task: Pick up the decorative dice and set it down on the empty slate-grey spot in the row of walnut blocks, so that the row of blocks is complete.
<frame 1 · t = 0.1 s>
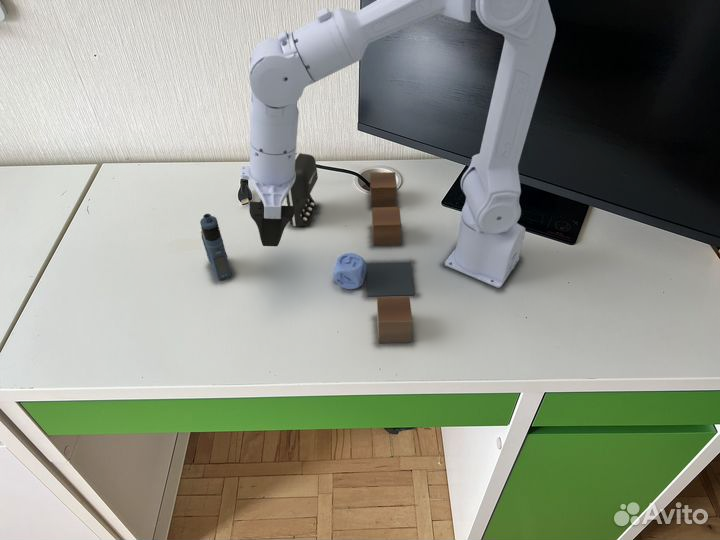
hand: (270, 226, 75), 10 cm above the table, tool pointing down, fingers open, 7 cm apart
block near: (393, 330, 75), on the table
decorative dice: (350, 281, 82), on the table
block far: (382, 200, 96), on the table
vaping device: (221, 270, 84), on the table
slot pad: (389, 279, 82), on the table
battery charger: (306, 217, 94), on the table
block mid: (385, 236, 89), on the table
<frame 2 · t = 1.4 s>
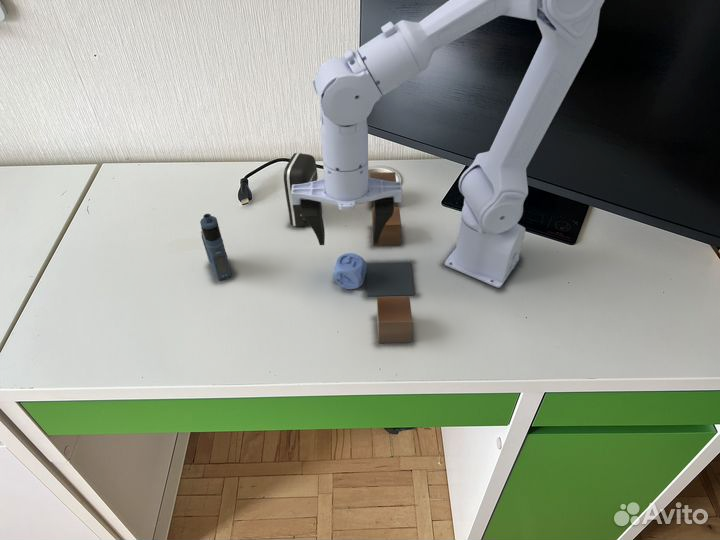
hand: (348, 239, 76), 8 cm above the table, tool pointing down, fingers open, 7 cm apart
nothing on the table moved.
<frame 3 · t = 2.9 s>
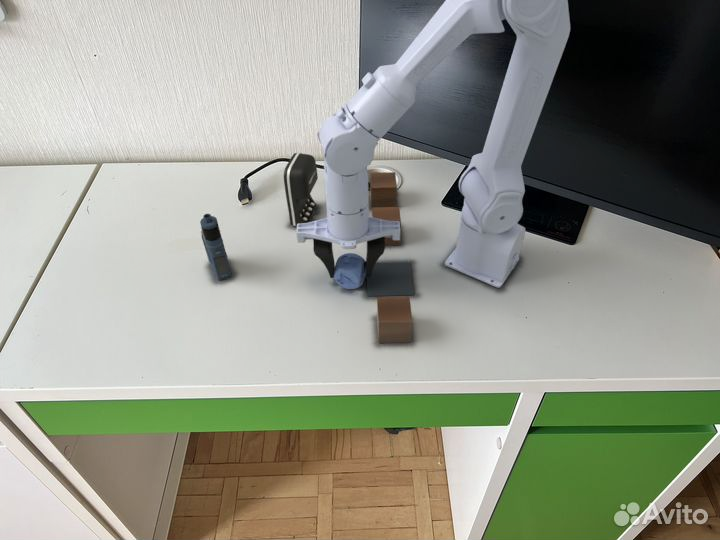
hand: (350, 273, 81), 2 cm above the table, tool pointing down, fingers closed on decorative dice, 5 cm apart
decorative dice: (350, 281, 82), on the table, touching gripper
everything else where it was.
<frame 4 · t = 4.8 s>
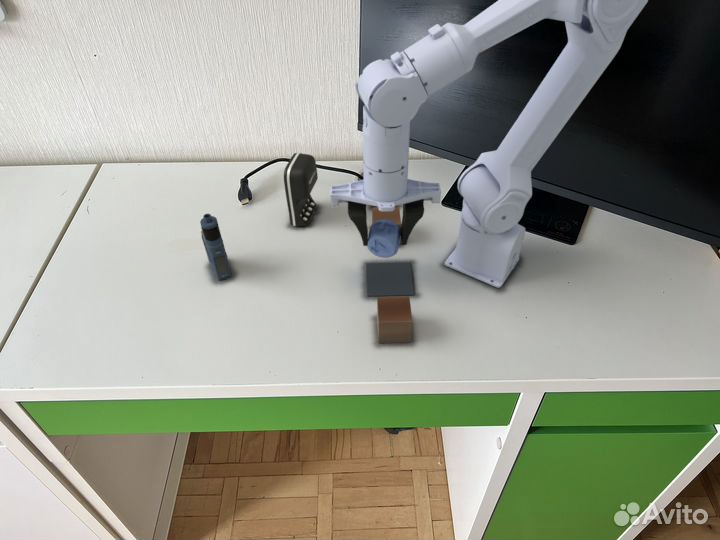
hand: (384, 240, 77), 8 cm above the table, tool pointing down, fingers closed on decorative dice, 5 cm apart
decorative dice: (384, 249, 78), point 6 cm above the table, touching gripper
everything else where it was.
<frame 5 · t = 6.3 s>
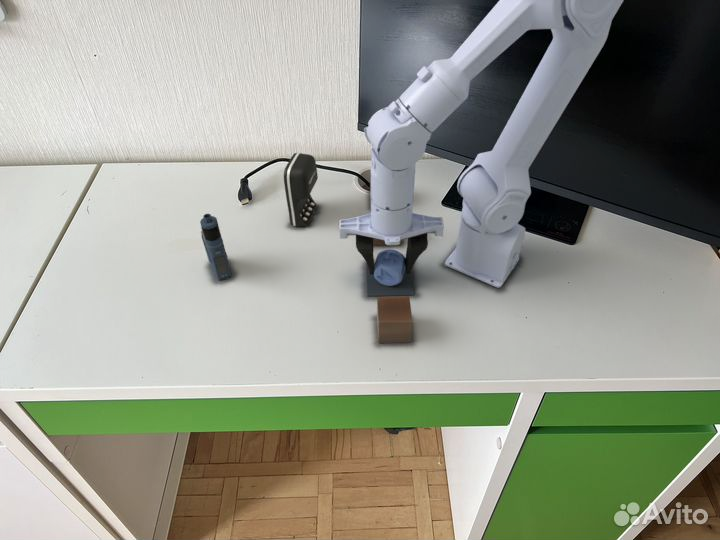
hand: (389, 269, 81), 2 cm above the table, tool pointing down, fingers closed on decorative dice, 5 cm apart
decorative dice: (389, 277, 82), resting on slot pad, touching gripper
everything else where it was.
when the fingers open (2 cm above the table, at t = 6.9 s): decorative dice stays where it is, resting on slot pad.
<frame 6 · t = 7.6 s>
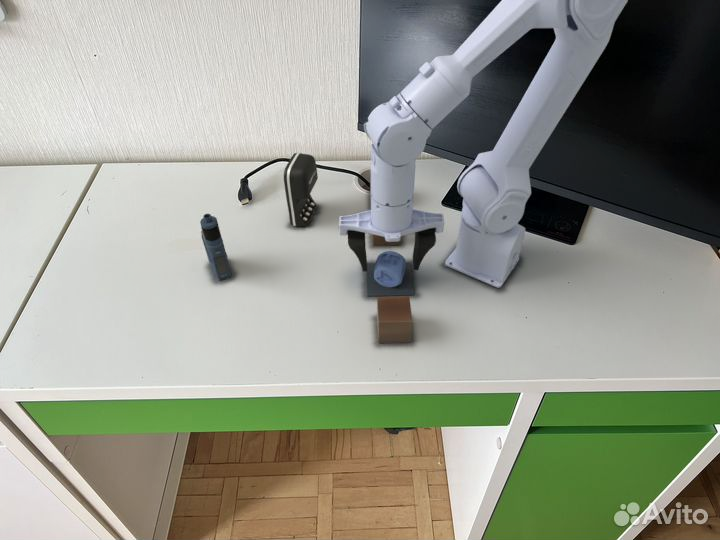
hand: (390, 266, 80), 3 cm above the table, tool pointing down, fingers open, 7 cm apart
decorative dice: (389, 279, 82), resting on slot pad
everything else where it was.
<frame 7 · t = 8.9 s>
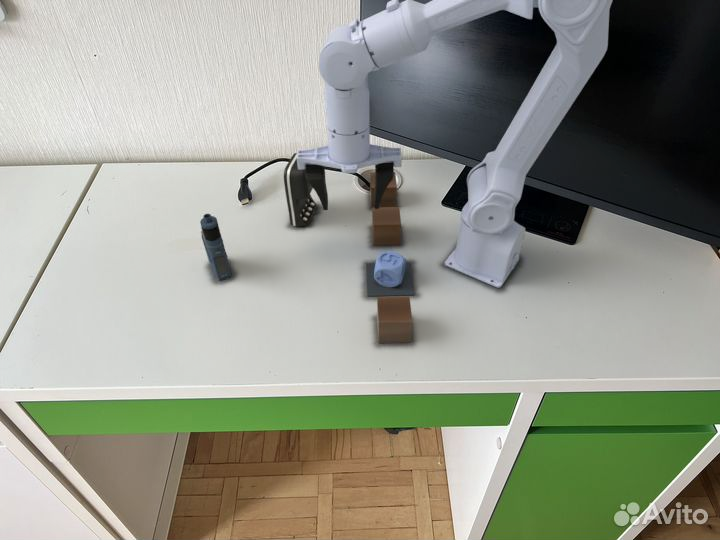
hand: (351, 205, 80), 9 cm above the table, tool pointing down, fingers open, 7 cm apart
nothing on the table moved.
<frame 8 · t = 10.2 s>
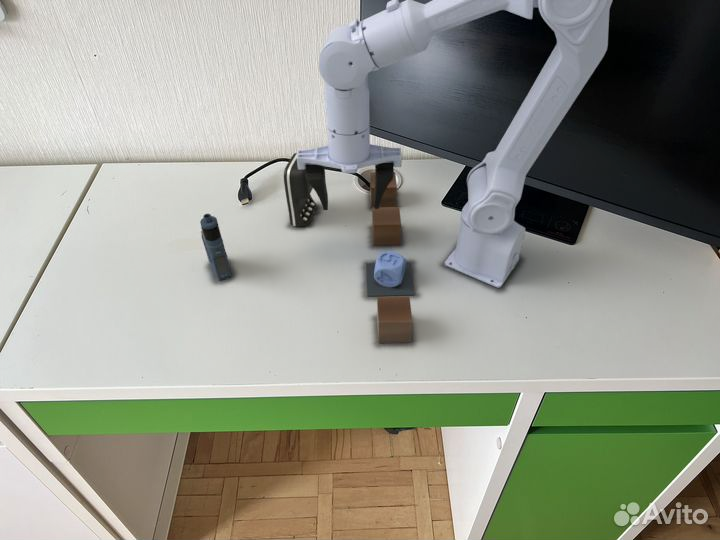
hand: (351, 205, 80), 9 cm above the table, tool pointing down, fingers open, 7 cm apart
nothing on the table moved.
at the end: decorative dice 0.0 cm from the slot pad (horizontally); the gripper is holding nothing; block mid moved 0.0 cm from its start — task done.
